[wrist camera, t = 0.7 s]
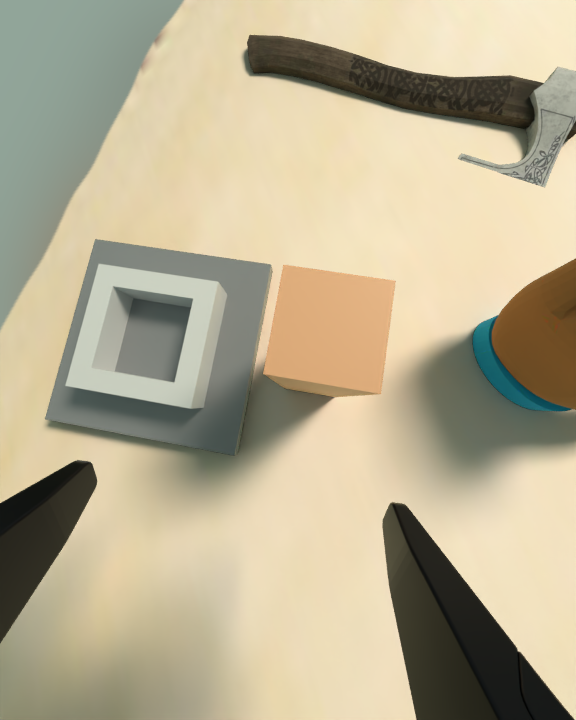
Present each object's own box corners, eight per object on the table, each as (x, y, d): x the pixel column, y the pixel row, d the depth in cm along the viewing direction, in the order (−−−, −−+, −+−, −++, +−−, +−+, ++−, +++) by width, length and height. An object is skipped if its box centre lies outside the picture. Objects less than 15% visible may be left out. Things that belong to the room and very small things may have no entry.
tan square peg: (334, 397, 22) (380, 393, 9) (284, 388, 23) (263, 373, 10) (342, 347, 23) (395, 280, 10) (293, 339, 23) (283, 264, 10)
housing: (237, 452, 22) (225, 463, 18) (58, 418, 23) (12, 421, 19) (272, 271, 24) (267, 248, 20) (104, 246, 25) (71, 220, 21)
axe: (260, -14, 25) (609, 73, 23) (265, 20, 28) (579, 102, 25) (216, 110, 26) (554, 210, 23) (225, 132, 28) (530, 225, 25)
